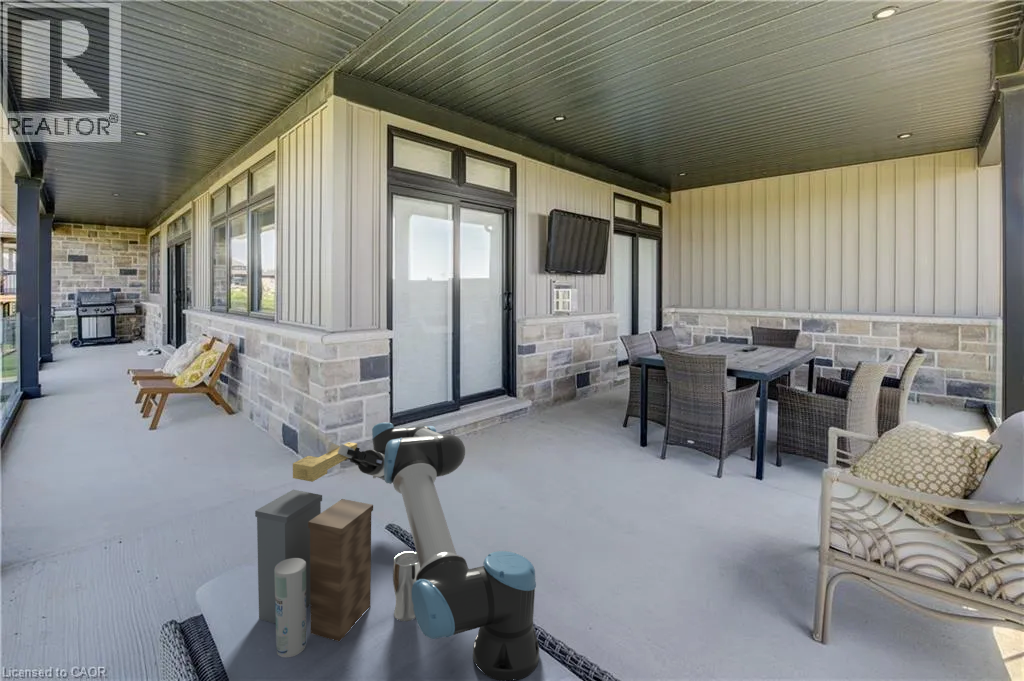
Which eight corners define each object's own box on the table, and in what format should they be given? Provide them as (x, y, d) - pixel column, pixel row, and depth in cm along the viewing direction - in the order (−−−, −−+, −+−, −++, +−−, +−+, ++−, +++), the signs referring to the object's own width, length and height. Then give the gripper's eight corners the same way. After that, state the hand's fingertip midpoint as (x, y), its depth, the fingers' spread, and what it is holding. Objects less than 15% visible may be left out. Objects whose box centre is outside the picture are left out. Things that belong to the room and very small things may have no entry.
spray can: (310, 649, 114) (310, 567, 111) (280, 662, 109) (279, 577, 107) (301, 633, 119) (301, 554, 116) (272, 645, 114) (271, 563, 112)
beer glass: (413, 625, 123) (414, 568, 121) (387, 620, 124) (388, 564, 123) (424, 607, 130) (425, 553, 128) (399, 602, 131) (400, 549, 129)
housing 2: (341, 600, 131) (342, 498, 128) (372, 607, 129) (373, 504, 125) (308, 633, 119) (308, 521, 115) (341, 642, 116) (341, 528, 113)
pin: (312, 481, 127) (312, 466, 127) (292, 478, 129) (292, 463, 129) (361, 453, 148) (361, 440, 148) (344, 451, 150) (344, 438, 150)
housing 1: (294, 588, 135) (293, 489, 132) (322, 595, 133) (322, 495, 129) (257, 618, 123) (255, 510, 119) (287, 627, 120) (286, 517, 117)
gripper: (392, 479, 158) (355, 465, 137) (348, 471, 162) (305, 457, 141) (399, 455, 160) (363, 438, 140) (355, 448, 165) (314, 431, 144)
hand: (334, 448), depth 140 cm, fingers closed on pin, 3 cm apart
